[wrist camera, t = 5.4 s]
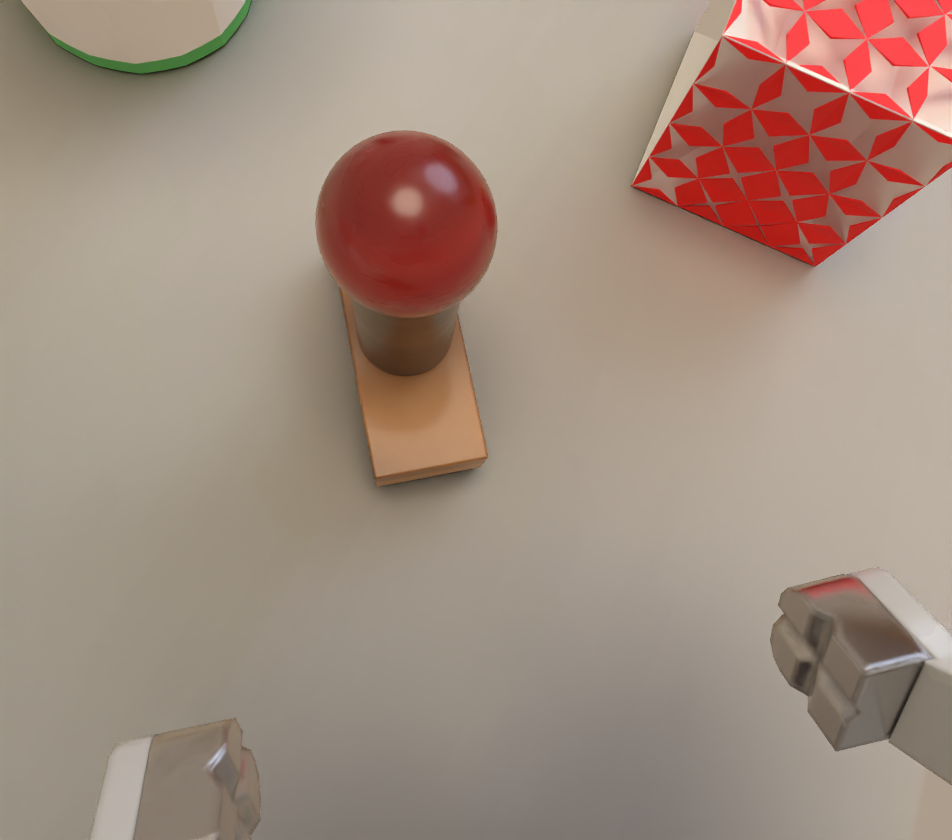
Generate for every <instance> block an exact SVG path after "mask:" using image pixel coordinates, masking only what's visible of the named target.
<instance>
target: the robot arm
mask: <svg viewBox="0 0 952 840" xmlns="http://www.w3.org/2000/svg"><path fill="white" fill-rule="evenodd" d="M778 606H779V607H780V609H781V610H782V611H783V613H784V614H783V615H782V616H781V617H780V618H779V619H778V620H777V621H776V622H775V623H774V624H773V627H772V633H771V638H770V642H771V647H772V652H773V657H774V659H775V661H776V663H777V666H778V668H779V670H780V672H781V673H782V675H783V676H784V678H785V679H786V681H787V682H788V684H789V685H790V686H791V687H793V688H795V689H797V690H798V691H800V692H802V693H804V694H805V695H807V696H808V713H809V714H810V716H811V717H812V718H813V720H814V721H815V723H816V724H817V725H818V727H819V728H820V730H821V731H822V733H823V734H824V735H825V737H826V738H827V740H828V741H829V743H830V744H831V745H832V747H833V748H834V750H835V751H840V750H844V749H848V748H852V747H856V746H860V745H865V744H869V743H873V742H877V741H881V740H885V739H890V740H889V743H891V744H892V745H894V746H895V747H897V748H898V749H899V750H901V751H902V752H904V753H905V754H907V755H908V756H910V757H911V758H913V759H914V760H916V761H917V762H918V763H920V764H921V765H923V766H924V767H926V768H927V769H929V770H930V771H932V772H933V773H934V774H936V775H937V776H939V777H940V778H942V779H943V780H945V781H946V782H948V783H949V784H951V785H952V635H951V634H950V633H949V632H948V631H947V630H946V629H945V628H944V627H943V626H942V625H941V624H940V623H939V622H938V621H937V620H936V619H935V618H934V617H933V616H932V615H931V614H930V613H929V612H928V611H927V610H926V609H925V608H924V607H923V606H922V605H921V604H920V603H919V602H918V601H917V600H916V599H915V598H914V597H913V596H912V595H911V594H910V593H909V592H908V591H907V590H906V589H905V588H904V587H903V586H902V585H901V584H900V583H899V582H898V581H897V580H896V579H895V578H894V577H893V576H892V575H891V574H890V573H889V572H888V571H886V570H884V569H882V568H880V567H876V568H870V569H866V570H862V571H858V572H854V573H850V574H846V575H845V574H841V575H837V576H833V577H829V578H825V579H821V580H817V581H813V582H809V583H805V584H801V585H797V586H793V587H789V588H787V589H786V590H785V591H784V592H782V593H781V596H780V600H779V603H778ZM242 732H243V731H242V729H241V727H240V725H239V723H238V721H237V719H236V718H231V719H226V720H222V721H217V722H212V723H208V724H203V725H198V726H194V727H189V728H185V729H180V730H175V731H171V732H166V733H161V734H155V735H151V736H146V737H142V738H138V739H133V740H129V741H125V742H120V743H116V744H115V746H114V748H113V750H112V752H111V753H110V755H109V757H108V760H107V764H106V769H105V773H104V777H103V781H102V786H101V790H100V794H99V798H98V803H97V807H96V811H95V816H94V820H93V824H92V828H91V833H90V837H89V840H252V839H251V837H250V836H251V834H252V833H253V831H254V829H255V828H256V826H257V825H258V823H259V821H260V809H261V796H260V784H259V775H258V770H257V766H256V762H255V759H254V757H253V754H252V752H251V750H249V749H247V748H245V747H242Z"/></svg>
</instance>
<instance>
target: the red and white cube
mask: <svg viewBox="0 0 952 840" xmlns="http://www.w3.org/2000/svg"><path fill="white" fill-rule="evenodd" d="M951 167H952V0H711V2H710V4H709V5H708V7H707V9H706V11H705V13H704V15H703V16H702V18H701V20H700V22H699V24H698V26H697V27H696V29H695V31H694V33H693V36H692V38H691V41H690V43H689V46H688V48H687V51H686V53H685V55H684V58H683V60H682V63H681V65H680V68H679V70H678V73H677V75H676V78H675V80H674V82H673V85H672V87H671V90H670V92H669V95H668V97H667V100H666V102H665V105H664V107H663V109H662V112H661V114H660V117H659V119H658V122H657V124H656V127H655V129H654V132H653V134H652V136H651V139H650V141H649V144H648V146H647V149H646V151H645V154H644V156H643V158H642V161H641V163H640V166H639V168H638V171H637V173H636V176H635V178H634V181H633V183H632V186H633V187H635V188H638V189H640V190H642V191H644V192H647V193H649V194H651V195H653V196H656V197H658V198H660V199H662V200H665V201H667V202H669V203H672V204H674V205H676V206H679V207H681V208H684V209H686V210H688V211H690V212H693V213H695V214H697V215H700V216H702V217H704V218H706V219H709V220H711V221H713V222H715V223H718V224H720V225H722V226H724V227H727V228H729V229H731V230H734V231H736V232H738V233H740V234H743V235H745V236H747V237H749V238H752V239H754V240H756V241H758V242H761V243H763V244H765V245H768V246H770V247H772V248H774V249H777V250H779V251H781V252H783V253H786V254H788V255H790V256H793V257H795V258H797V259H799V260H802V261H804V262H806V263H808V264H811V265H813V266H817V265H818V264H820V263H821V262H822V261H824V260H825V259H826V258H828V257H829V256H831V255H832V254H833V253H835V252H836V251H837V250H839V249H840V248H842V247H843V246H844V245H846V244H847V243H848V242H850V241H851V240H852V239H854V238H855V237H856V236H858V235H859V234H861V233H862V232H863V231H865V230H866V229H867V228H869V227H870V226H872V225H873V224H874V223H876V222H877V221H878V220H880V219H881V218H882V217H884V216H885V215H887V214H888V213H889V212H891V211H892V210H893V209H895V208H896V207H898V206H899V205H900V204H902V203H903V202H904V201H906V200H907V199H909V198H910V197H911V196H913V195H914V194H915V193H917V192H918V191H920V190H921V189H922V188H924V187H925V186H926V185H928V184H929V183H931V182H932V181H933V180H935V179H936V178H937V177H939V176H940V175H942V174H943V173H944V172H946V171H947V170H948V169H950V168H951Z"/></svg>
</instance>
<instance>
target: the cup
mask: <svg viewBox="0 0 952 840" xmlns="http://www.w3.org/2000/svg"><path fill="white" fill-rule="evenodd" d="M21 1H22V2H23V3H24V5H25V6H26V7H27V8H28V9H29V11H30V12H31V13H32V14H33V15H34V16H35V18H36V19H37V20H38V21H39V22H40V24H41V25H42V26H43V28H44V29H45V30H46V32H47V33H48V34H49V35H50V37H51V38H52V39H53V40H54V42H55V43H56V44H57V45H59V46H60V47H62V48H64V49H66V50H67V51H69V52H71V53H72V54H74V55H76V56H78V57H80V58H82V59H84V60H86V61H88V62H90V63H92V64H94V65H97V66H101V67H106V68H110V69H115V70H120V71H126V72H133V73H140V74H142V73H149V72H156V71H162V70H168V69H172V68H177V67H181V66H186V65H188V64H190V63H192V62H194V61H196V60H198V59H200V58H202V57H204V56H206V55H208V54H210V53H211V52H213V51H215V50H217V49H218V48H220V47H222V46H224V45H225V43H226V42H227V41H228V40H229V38H230V37H231V36H232V35H233V34H234V32H235V31H236V30H237V29H238V27H239V26H240V24H241V23H242V21H243V20H244V18H245V17H246V15H247V13H248V10H249V7H250V3H251V0H21Z"/></svg>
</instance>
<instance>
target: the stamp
mask: <svg viewBox="0 0 952 840" xmlns="http://www.w3.org/2000/svg"><path fill="white" fill-rule="evenodd" d="M315 225H316V235H317V242H318V246H319V250H320V253H321V255H322V258H323V260H324V263H325V265H326V267H327V269H328V271H329V272H330V274H331V276H332V277H333V279H334V280H335V281H336V282H337V284H338V285H339V288H340V294H341V299H342V305H343V310H344V316H345V321H346V327H347V332H348V338H349V343H350V349H351V354H352V360H353V365H354V371H355V376H356V382H357V388H358V393H359V399H360V404H361V410H362V415H363V421H364V426H365V432H366V437H367V443H368V448H369V454H370V459H371V465H372V470H373V476H374V480H375V483H376V485H377V486H385V485H390V484H395V483H400V482H405V481H410V480H416V479H421V478H426V477H431V476H436V475H441V474H446V473H452V472H457V471H462V470H467V469H472V468H477V467H480V466H481V465H482V464H483V463H484V462H485V460H486V459H487V458H488V453H487V448H486V444H485V439H484V434H483V430H482V425H481V420H480V416H479V411H478V406H477V402H476V397H475V392H474V388H473V383H472V378H471V373H470V369H469V364H468V359H467V355H466V350H465V345H464V341H463V336H462V331H461V327H460V322H459V317H458V309H459V304H460V301H462V300H463V299H464V298H465V297H466V296H467V295H469V294H470V293H471V292H472V291H473V290H474V288H475V287H476V286H477V285H478V284H479V282H480V281H481V280H482V278H483V276H484V275H485V273H486V271H487V269H488V267H489V264H490V262H491V260H492V257H493V254H494V250H495V246H496V238H497V215H496V209H495V203H494V200H493V197H492V193H491V191H490V189H489V187H488V184H487V182H486V180H485V178H484V177H483V175H482V174H481V172H480V170H479V169H478V168H477V167H476V165H475V164H474V163H473V162H472V161H471V160H470V159H469V158H468V157H467V156H466V155H465V154H464V153H463V152H462V151H461V150H459V149H458V148H457V147H455V146H454V145H452V144H450V143H449V142H447V141H445V140H443V139H441V138H438V137H436V136H433V135H430V134H426V133H422V132H417V131H392V132H386V133H381V134H378V135H375V136H372V137H370V138H367V139H365V140H363V141H361V142H360V143H358V144H357V145H355V146H354V147H352V148H351V149H350V150H349V151H347V152H346V153H345V154H344V155H343V156H342V157H341V158H340V159H339V160H338V161H337V162H336V163H335V165H334V166H333V168H332V169H331V171H330V172H329V174H328V176H327V178H326V180H325V182H324V184H323V186H322V188H321V191H320V194H319V198H318V203H317V209H316V220H315Z"/></svg>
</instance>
